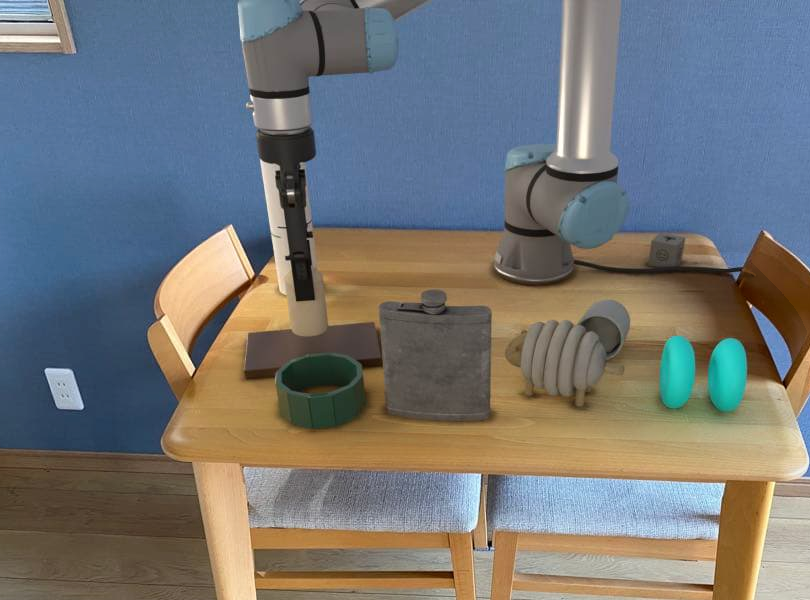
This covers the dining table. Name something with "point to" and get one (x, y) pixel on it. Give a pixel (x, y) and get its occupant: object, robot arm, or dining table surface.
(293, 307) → the candle
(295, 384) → the segmented bracelet
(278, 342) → the walnut board
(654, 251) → the grey engraved cube
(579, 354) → the toy sheep
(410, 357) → the flask
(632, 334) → the dining table surface
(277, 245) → the cylindrical container
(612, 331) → the ceramic mug
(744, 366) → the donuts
